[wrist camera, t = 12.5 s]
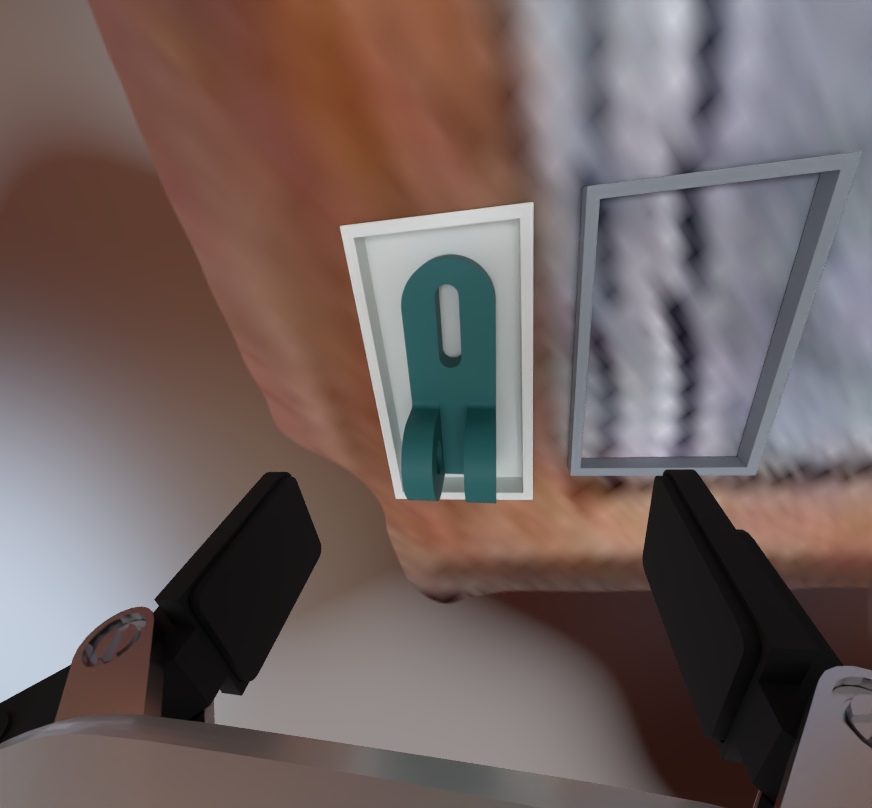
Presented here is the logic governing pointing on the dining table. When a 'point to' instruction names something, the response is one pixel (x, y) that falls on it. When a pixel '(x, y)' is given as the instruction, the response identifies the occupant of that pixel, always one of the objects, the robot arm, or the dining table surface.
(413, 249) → the parts tray
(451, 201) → the dining table surface
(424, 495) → the bracket
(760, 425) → the grey rectangular frame
